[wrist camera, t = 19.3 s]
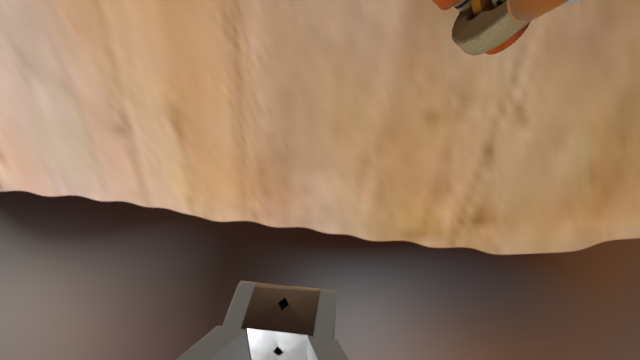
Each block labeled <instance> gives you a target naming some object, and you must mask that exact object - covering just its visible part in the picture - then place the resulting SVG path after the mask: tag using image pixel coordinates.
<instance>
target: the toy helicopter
mask: <svg viewBox="0 0 640 360" xmlns="http://www.w3.org/2000/svg"><path fill="white" fill-rule="evenodd" d="M433 1H434V2H435V3H436V4H437V5H438V7H439V8H440V9H442V10H447V9H449V8H451V7H452V6H454V7H455V8H456V9H458V10H459V11H460V13H459V15H458V17H457V19H456V21H455V23H454V26H453V29H452V39H453V41H454V42H455V43H456V44H457V45H458V46H459V47H460V48H461V49H462V50H463V51H464V52H466V53H467V54H470V55H479V54H482V53H486V54H496V53H498V52H500V51H502V50H504V49H506V48H507V47H509V46H510V45H512V44H513V43H514V42H515V41H516V40H517V39H518V38H519V37H520V36H521V35H522V34H523V33H524V31H525V30H526V29H527V27H528V25H529V24H530V21H531V20H533V19H535V18H537V17H539V16H541V15H543V14H545V13H547V12H548V11H550V10H552V9H554V8H556V7H558V6H560V5H567V4H571V3H575V2H578V1H580V0H433Z"/></svg>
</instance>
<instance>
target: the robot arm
mask: <svg viewBox="0 0 640 360" xmlns="http://www.w3.org/2000/svg"><path fill="white" fill-rule="evenodd" d="M336 302H337V291H334V290H323V289H321V290H320V289H317V288H306V287H295V286H294V287H293V286H289V287H288V286H280V285H273V284H265V283H256V282H248V281H241V282H240V283H239V284H238V286H237V289H236V292H235V294H234V297H233V299H232V302H231V304H230V307H229V310H228V313H227V315H226V318H225V320H224V323H223V325H222V326H217V327H215V328H214V329H213V330H212V331H211V332H209V333H208V334H207V335H206V336H204V337H203V338H202V339H201V340H199V341H198V342H197V343H196V344H195V345H193V346H192V347H191V348H190V349H188V350H187V351H186V352H185V353H184V354H182V355H181V356H180V357H179V358H177V359H176V360H348V358H347V356H346V354H345V353H344V351H343V349H342V347H341V345H340V344H339V341H338V340H336V339H334V334H335V319H336Z"/></svg>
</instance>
